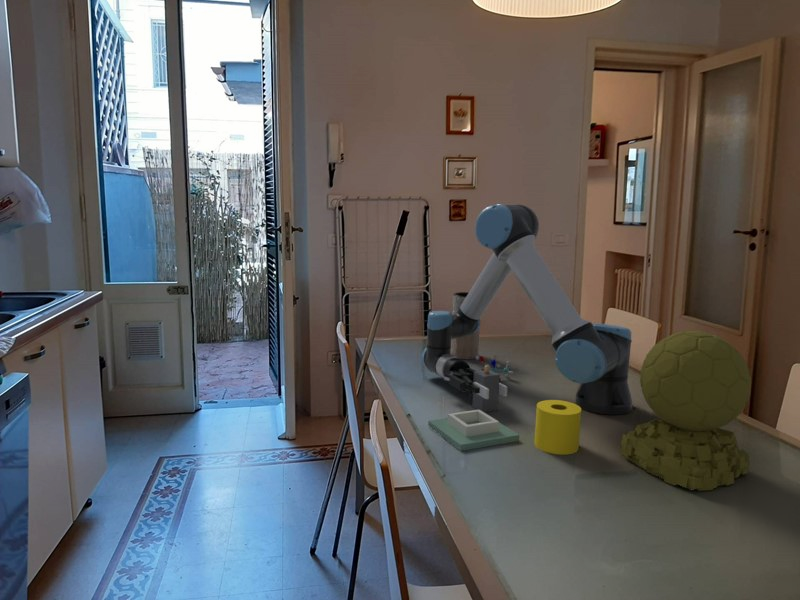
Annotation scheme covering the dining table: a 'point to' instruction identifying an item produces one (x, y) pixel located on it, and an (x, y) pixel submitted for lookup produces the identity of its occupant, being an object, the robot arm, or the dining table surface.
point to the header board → (472, 430)
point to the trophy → (691, 412)
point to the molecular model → (496, 365)
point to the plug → (490, 382)
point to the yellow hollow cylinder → (557, 427)
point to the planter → (466, 344)
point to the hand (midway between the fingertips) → (496, 392)
